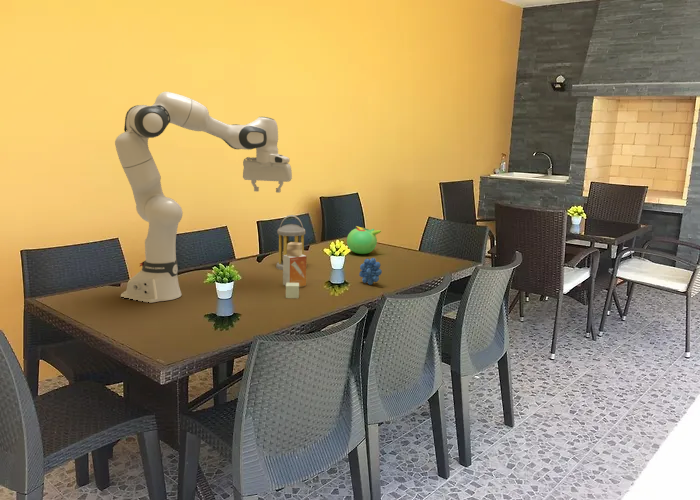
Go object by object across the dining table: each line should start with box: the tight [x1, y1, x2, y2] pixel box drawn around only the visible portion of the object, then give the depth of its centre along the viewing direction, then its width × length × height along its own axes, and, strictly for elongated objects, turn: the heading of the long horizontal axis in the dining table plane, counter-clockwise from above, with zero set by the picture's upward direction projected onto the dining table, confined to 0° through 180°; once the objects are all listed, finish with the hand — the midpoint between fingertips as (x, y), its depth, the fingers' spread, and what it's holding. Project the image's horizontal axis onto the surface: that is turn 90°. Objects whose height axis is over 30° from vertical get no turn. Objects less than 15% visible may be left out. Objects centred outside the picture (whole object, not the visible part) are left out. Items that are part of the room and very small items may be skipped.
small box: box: [282, 254, 308, 288], centre depth 243 cm, size 8×6×13 cm
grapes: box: [359, 257, 382, 286], centre depth 247 cm, size 12×7×12 cm, turn 50°
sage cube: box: [285, 283, 300, 299], centre depth 227 cm, size 5×5×5 cm
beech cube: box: [287, 242, 302, 257], centre depth 241 cm, size 5×5×5 cm
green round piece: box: [346, 225, 382, 255], centre depth 309 cm, size 18×17×15 cm
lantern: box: [275, 214, 307, 271], centre depth 273 cm, size 14×14×25 cm
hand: (267, 191), depth 238 cm, fingers open, 8 cm apart
